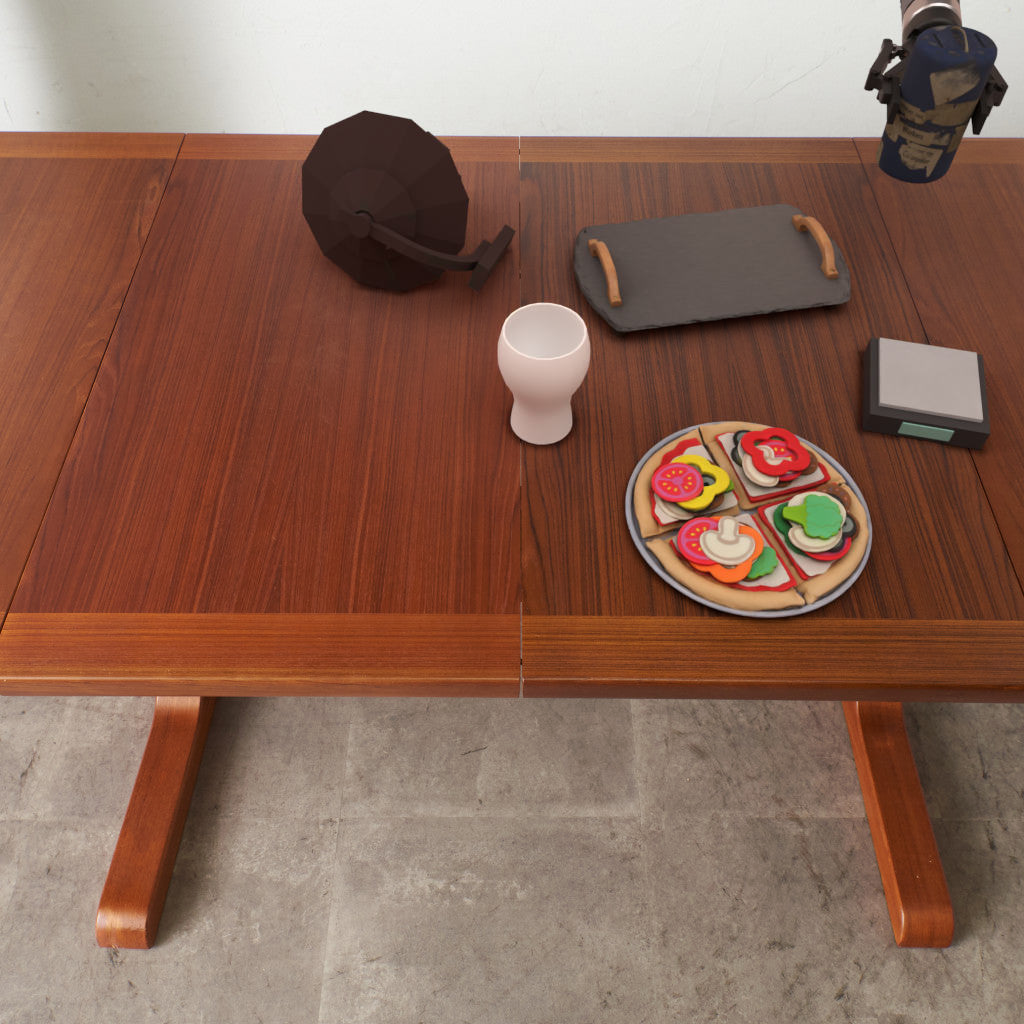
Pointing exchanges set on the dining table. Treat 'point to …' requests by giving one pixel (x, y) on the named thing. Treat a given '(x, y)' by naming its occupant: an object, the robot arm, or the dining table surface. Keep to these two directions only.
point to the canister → (936, 102)
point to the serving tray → (708, 267)
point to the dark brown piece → (391, 205)
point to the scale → (925, 393)
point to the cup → (543, 368)
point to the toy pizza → (748, 519)
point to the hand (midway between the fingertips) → (936, 119)
